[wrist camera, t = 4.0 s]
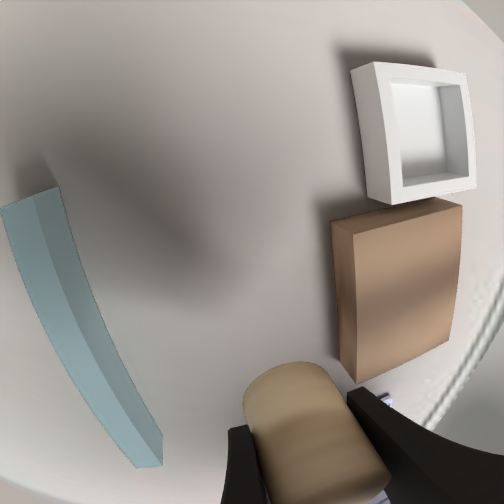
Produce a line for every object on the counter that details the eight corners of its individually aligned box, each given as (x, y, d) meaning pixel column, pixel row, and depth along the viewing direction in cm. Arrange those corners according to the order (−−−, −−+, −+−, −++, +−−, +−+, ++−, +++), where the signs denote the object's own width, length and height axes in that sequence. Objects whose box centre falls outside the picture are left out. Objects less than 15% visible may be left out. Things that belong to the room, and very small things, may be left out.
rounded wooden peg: (331, 409, 12) (382, 499, 7) (251, 433, 11) (282, 535, 7) (328, 349, 11) (400, 452, 6) (233, 378, 10) (267, 502, 6)
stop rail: (162, 434, 19) (162, 465, 17) (137, 437, 19) (136, 468, 16) (58, 186, 13) (32, 195, 10) (28, 197, 13) (-1, 208, 10)
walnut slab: (425, 321, 22) (448, 340, 19) (337, 358, 20) (356, 384, 18) (430, 196, 18) (462, 205, 15) (326, 220, 17) (352, 234, 14)
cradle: (451, 182, 18) (476, 188, 15) (367, 196, 17) (391, 205, 14) (439, 77, 15) (465, 73, 13) (349, 70, 14) (373, 61, 12)
